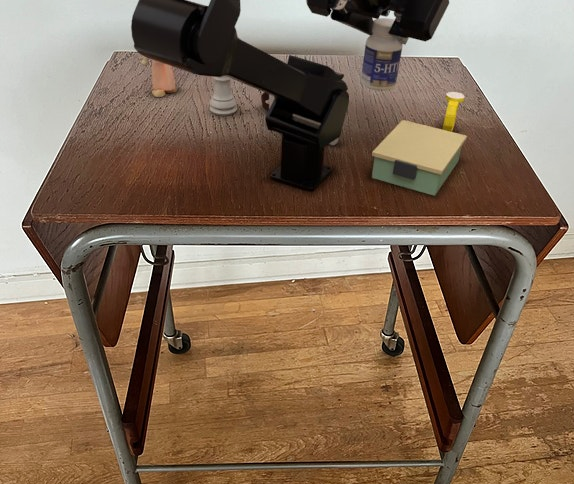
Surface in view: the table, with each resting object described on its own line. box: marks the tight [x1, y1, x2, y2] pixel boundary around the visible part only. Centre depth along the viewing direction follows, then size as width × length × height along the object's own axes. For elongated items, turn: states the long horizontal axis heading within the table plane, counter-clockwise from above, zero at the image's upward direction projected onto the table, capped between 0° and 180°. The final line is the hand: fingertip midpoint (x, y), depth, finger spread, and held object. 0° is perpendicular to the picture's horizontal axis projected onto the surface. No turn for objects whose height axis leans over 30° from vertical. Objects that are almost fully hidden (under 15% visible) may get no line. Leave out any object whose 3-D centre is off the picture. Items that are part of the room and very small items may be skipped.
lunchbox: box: [371, 119, 468, 197], centre depth 83 cm, size 12×10×4 cm
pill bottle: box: [360, 17, 404, 91], centre depth 87 cm, size 5×5×9 cm
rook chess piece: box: [209, 76, 238, 117], centre depth 94 cm, size 4×4×8 cm
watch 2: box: [442, 91, 466, 132], centre depth 92 cm, size 6×3×6 cm, turn 161°
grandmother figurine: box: [140, 55, 178, 98], centre depth 98 cm, size 8×4×13 cm, turn 148°
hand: (389, 37), depth 86 cm, fingers closed on pill bottle, 5 cm apart
